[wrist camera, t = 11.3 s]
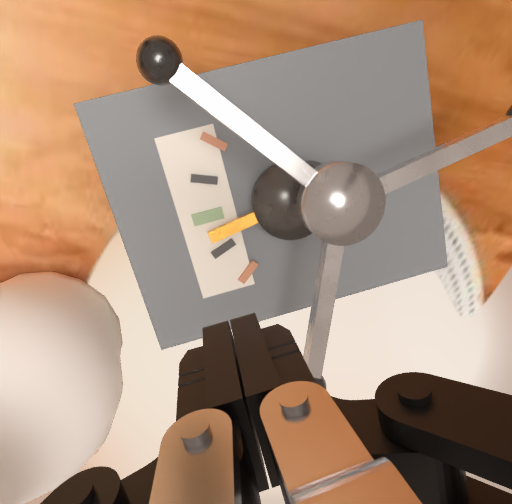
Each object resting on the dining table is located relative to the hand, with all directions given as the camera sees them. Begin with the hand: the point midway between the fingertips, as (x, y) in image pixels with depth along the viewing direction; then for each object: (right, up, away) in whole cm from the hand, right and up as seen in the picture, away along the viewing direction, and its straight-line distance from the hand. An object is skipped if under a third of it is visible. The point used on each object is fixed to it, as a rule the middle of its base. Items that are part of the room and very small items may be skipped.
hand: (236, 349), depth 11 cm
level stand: (+2, +8, +22) cm, 24 cm away
